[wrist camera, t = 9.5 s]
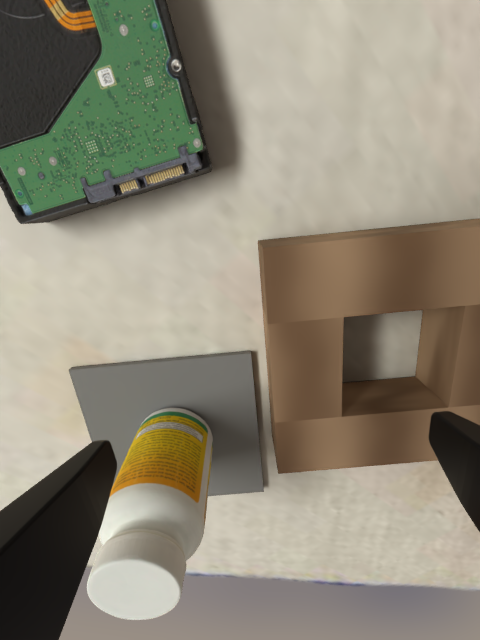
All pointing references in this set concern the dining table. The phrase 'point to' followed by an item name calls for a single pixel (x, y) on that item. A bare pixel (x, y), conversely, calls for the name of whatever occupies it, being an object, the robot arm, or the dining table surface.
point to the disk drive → (92, 105)
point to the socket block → (327, 341)
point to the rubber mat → (179, 392)
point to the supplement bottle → (153, 517)
